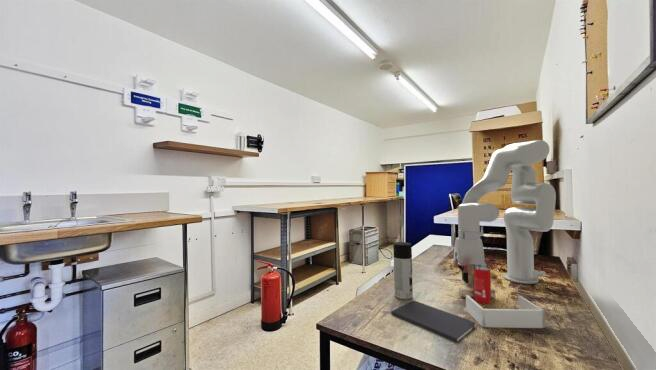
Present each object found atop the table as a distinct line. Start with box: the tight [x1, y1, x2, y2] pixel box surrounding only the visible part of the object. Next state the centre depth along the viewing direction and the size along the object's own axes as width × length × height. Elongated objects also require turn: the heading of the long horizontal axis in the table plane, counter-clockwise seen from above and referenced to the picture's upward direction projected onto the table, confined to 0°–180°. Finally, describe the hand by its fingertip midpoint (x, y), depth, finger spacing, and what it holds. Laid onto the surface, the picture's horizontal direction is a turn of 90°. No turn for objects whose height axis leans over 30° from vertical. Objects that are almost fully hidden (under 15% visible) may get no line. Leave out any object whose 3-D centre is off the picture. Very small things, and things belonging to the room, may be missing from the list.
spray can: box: [393, 241, 414, 301], centre depth 102 cm, size 7×7×20 cm
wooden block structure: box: [458, 265, 496, 298], centre depth 104 cm, size 12×9×11 cm
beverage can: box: [473, 266, 492, 305], centre depth 96 cm, size 5×5×12 cm
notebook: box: [390, 300, 477, 343], centre depth 84 cm, size 13×2×21 cm
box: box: [465, 295, 546, 329], centre depth 84 cm, size 18×11×5 cm, turn 87°
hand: (469, 281), depth 106 cm, fingers closed on wooden block structure, 2 cm apart
